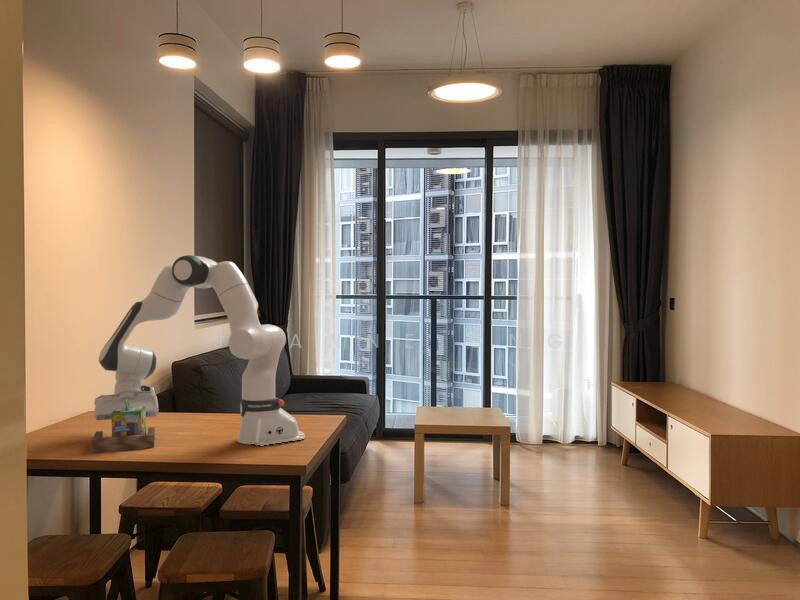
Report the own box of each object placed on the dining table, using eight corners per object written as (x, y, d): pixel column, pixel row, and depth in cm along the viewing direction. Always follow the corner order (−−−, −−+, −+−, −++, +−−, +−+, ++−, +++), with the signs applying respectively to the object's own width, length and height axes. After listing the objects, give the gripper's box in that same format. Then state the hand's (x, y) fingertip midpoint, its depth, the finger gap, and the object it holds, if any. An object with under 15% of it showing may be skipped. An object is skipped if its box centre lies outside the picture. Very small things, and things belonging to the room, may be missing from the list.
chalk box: (141, 446, 193) (141, 400, 193) (111, 448, 191) (110, 402, 191) (147, 439, 202) (146, 396, 202) (117, 441, 200) (117, 397, 200)
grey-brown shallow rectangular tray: (154, 438, 203) (154, 427, 203) (154, 447, 192) (153, 434, 192) (96, 443, 197) (95, 431, 196) (91, 452, 185) (91, 439, 185)
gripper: (94, 390, 204) (91, 424, 195) (158, 387, 212) (158, 419, 203) (95, 401, 208) (92, 435, 199) (158, 397, 216) (158, 430, 207)
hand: (126, 427), depth 201 cm, fingers closed
